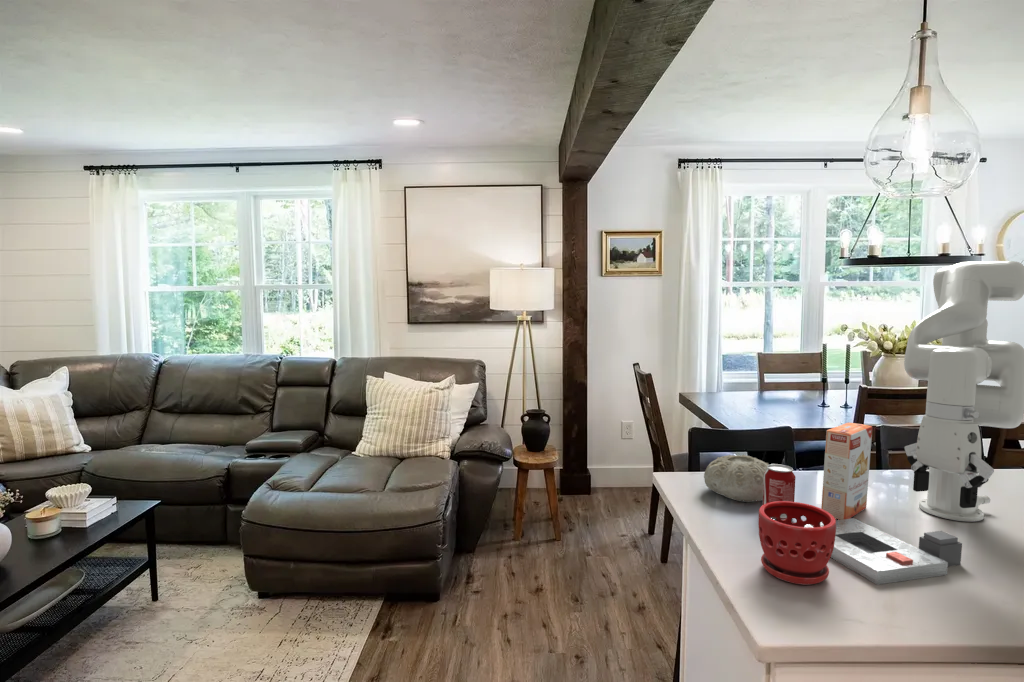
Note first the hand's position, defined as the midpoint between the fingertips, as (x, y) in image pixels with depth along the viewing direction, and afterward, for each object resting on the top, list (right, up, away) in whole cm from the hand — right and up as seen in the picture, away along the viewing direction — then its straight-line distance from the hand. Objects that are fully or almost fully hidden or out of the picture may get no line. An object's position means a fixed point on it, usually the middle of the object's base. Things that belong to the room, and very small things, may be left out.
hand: (943, 498), depth 116 cm
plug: (0, -13, +2) cm, 13 cm away
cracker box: (-4, -11, +27) cm, 30 cm away
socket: (-13, -13, +4) cm, 18 cm away
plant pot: (-31, -13, -4) cm, 34 cm away
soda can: (-22, -11, +24) cm, 34 cm away
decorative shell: (-25, -10, +38) cm, 47 cm away
